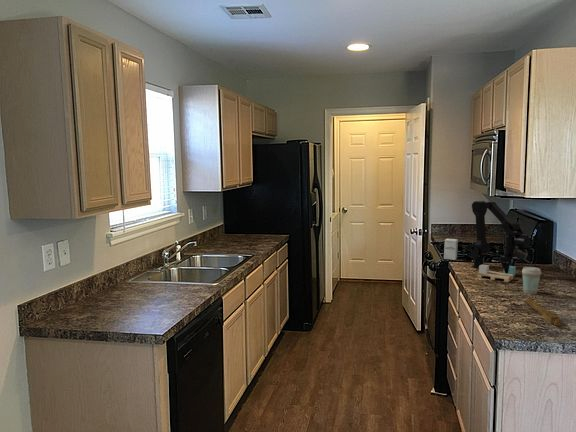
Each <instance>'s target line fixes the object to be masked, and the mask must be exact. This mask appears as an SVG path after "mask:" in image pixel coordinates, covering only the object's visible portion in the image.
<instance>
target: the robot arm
mask: <svg viewBox="0 0 576 432" xmlns="http://www.w3.org/2000/svg"><path fill="white" fill-rule="evenodd" d="M471 210H472V214H474V216H475V229H476V230H475V231H476V241H475V243H474V247H473V248H474V249H472V251H471V252H470V254H469V255H470V257H471V258H473V265H471V266H470V267H471V268H475V269H476V268H477V269H479V266H480V265H485V264H484V263H485V258H487V257H488V256H489V254H490V251H491V243H490V242H488V241H487V239H486V238H487V237H486V236H487V235H486V233H487V232H486V220H485V219H486V218H485V216H486V213H487V211H488V210H489V211H490V212H491V213H492V214H493V216H495V218H496V219H497V220H499V222H500V223H501V227H502V229H503V231H504V233H502V236H503V237H505V243H504V246H503V249H504V253H503V255H502V256H500V257H499V259H498V261H499V262H500V264H501V267H502V269H504V271H505V273H507V274H508V271H509V267H510V266H515V265H516V262H518V260H520V259H521V261H522V260H523V261H525V260H526V258H527V257H528V254H529V253H528V250H527V249H528V248H529V247H530V246H531V244H532V240H531V238H530V237H529V235H528V234H524V231H523V230H522V229H521V224H519V222H518V221H516V220H514V219H513V218H510V217H509V216H508V215H507V214H506V213H505V212H504V211H503V209H501V208H500V206H498V204H497V203H496V202H495V201H485V200H476V201H473V202H472V203H471ZM519 247H522V248H524V249H522V250H521V249H519ZM526 248H527V249H526ZM515 267H516V266H515Z"/></svg>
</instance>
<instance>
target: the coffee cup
mask: <svg viewBox="0 0 576 432" xmlns="http://www.w3.org/2000/svg"><path fill="white" fill-rule="evenodd" d="M521 272H522V284H523V285H522V287H523V289H522V290H523V293H524V294H527V295H537V294H538V289H539V285H540V280H541V275H542V270H541V268H539V267H534V266H524V267H523V268H522V270H521Z"/></svg>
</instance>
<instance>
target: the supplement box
mask: <svg viewBox="0 0 576 432" xmlns="http://www.w3.org/2000/svg"><path fill="white" fill-rule="evenodd" d="M458 244H459V239H458V238H448V237H447V238H446V239H444V247H443V249H444V250H443V251H444V252H443V260H453V261H455V260H457V259H458V246H459V245H458Z"/></svg>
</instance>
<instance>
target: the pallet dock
mask: <svg viewBox="0 0 576 432" xmlns="http://www.w3.org/2000/svg"><path fill="white" fill-rule="evenodd" d="M476 276H477V277H476V278H479V279H482V278H483V277H488V278H489V277H490V281H491V280H492V281H495V280H497V279H502V280H503V281H504V283H509V282H510V281H512V280H514V276H513V274H507V273H503V272H499V271H492V270H489V273H487V274H483V273H479V271H478V272H477V274H476Z"/></svg>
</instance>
